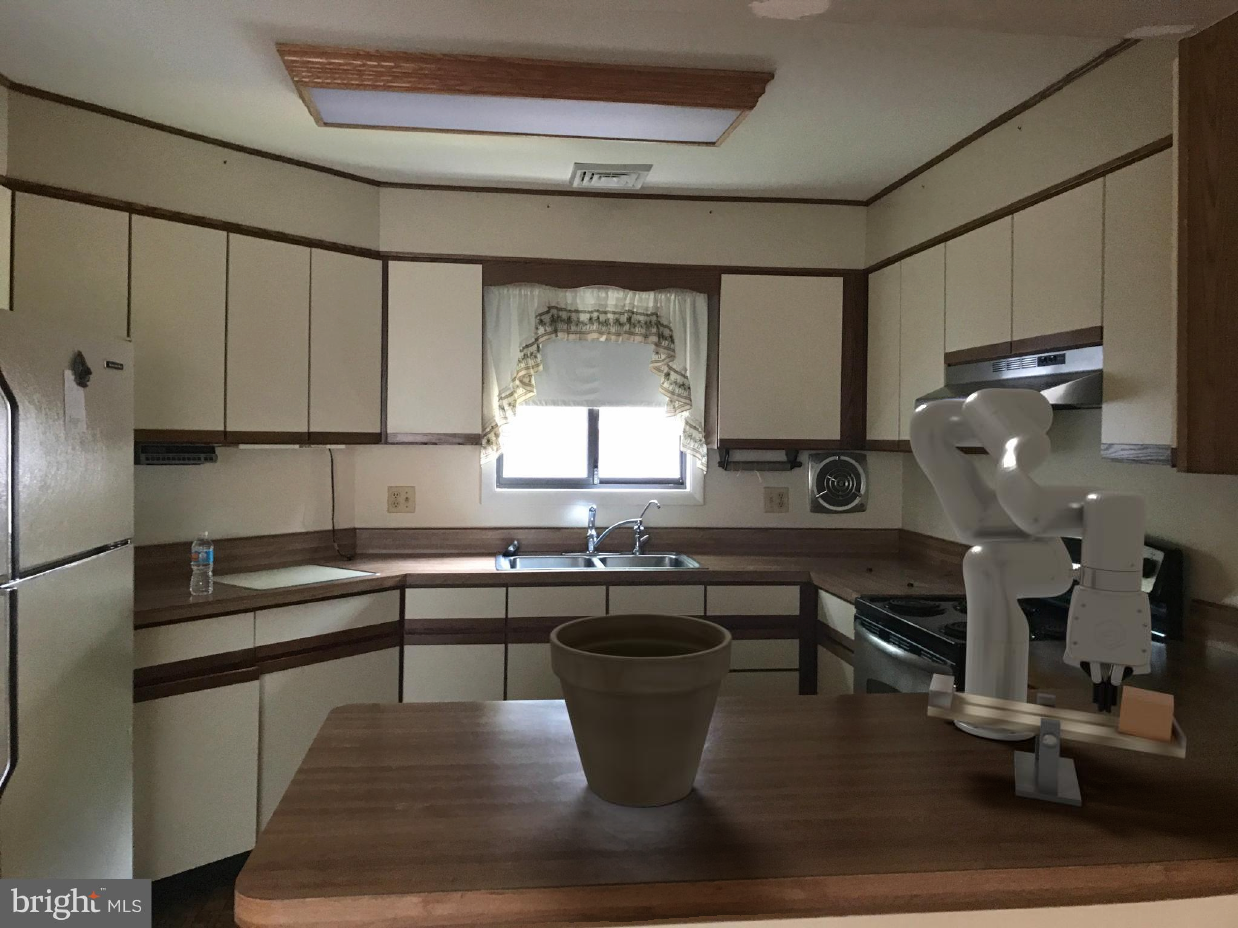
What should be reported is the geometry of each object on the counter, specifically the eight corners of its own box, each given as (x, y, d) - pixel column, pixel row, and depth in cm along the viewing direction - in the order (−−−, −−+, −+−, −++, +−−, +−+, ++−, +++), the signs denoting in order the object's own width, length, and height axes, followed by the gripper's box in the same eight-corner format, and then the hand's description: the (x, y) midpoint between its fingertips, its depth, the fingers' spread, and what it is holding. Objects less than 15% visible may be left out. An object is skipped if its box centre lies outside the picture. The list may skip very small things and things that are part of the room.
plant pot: (568, 836, 106) (571, 660, 105) (533, 760, 130) (535, 615, 129) (758, 815, 112) (762, 649, 111) (691, 746, 136) (694, 609, 135)
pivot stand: (1015, 795, 120) (1018, 719, 119) (1014, 755, 135) (1017, 688, 134) (1081, 806, 117) (1084, 729, 116) (1072, 764, 131) (1075, 695, 131)
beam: (927, 715, 127) (928, 690, 127) (932, 696, 136) (934, 672, 136) (1184, 758, 114) (1187, 730, 114) (1171, 733, 123) (1173, 708, 123)
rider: (1117, 738, 120) (1122, 695, 119) (1119, 726, 125) (1123, 685, 124) (1168, 750, 116) (1174, 706, 116) (1168, 737, 121) (1173, 695, 121)
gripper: (1051, 579, 121) (1045, 709, 122) (1177, 590, 115) (1170, 726, 116) (1049, 571, 128) (1044, 693, 129) (1169, 580, 122) (1161, 709, 123)
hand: (1103, 709), depth 122 cm, fingers closed
